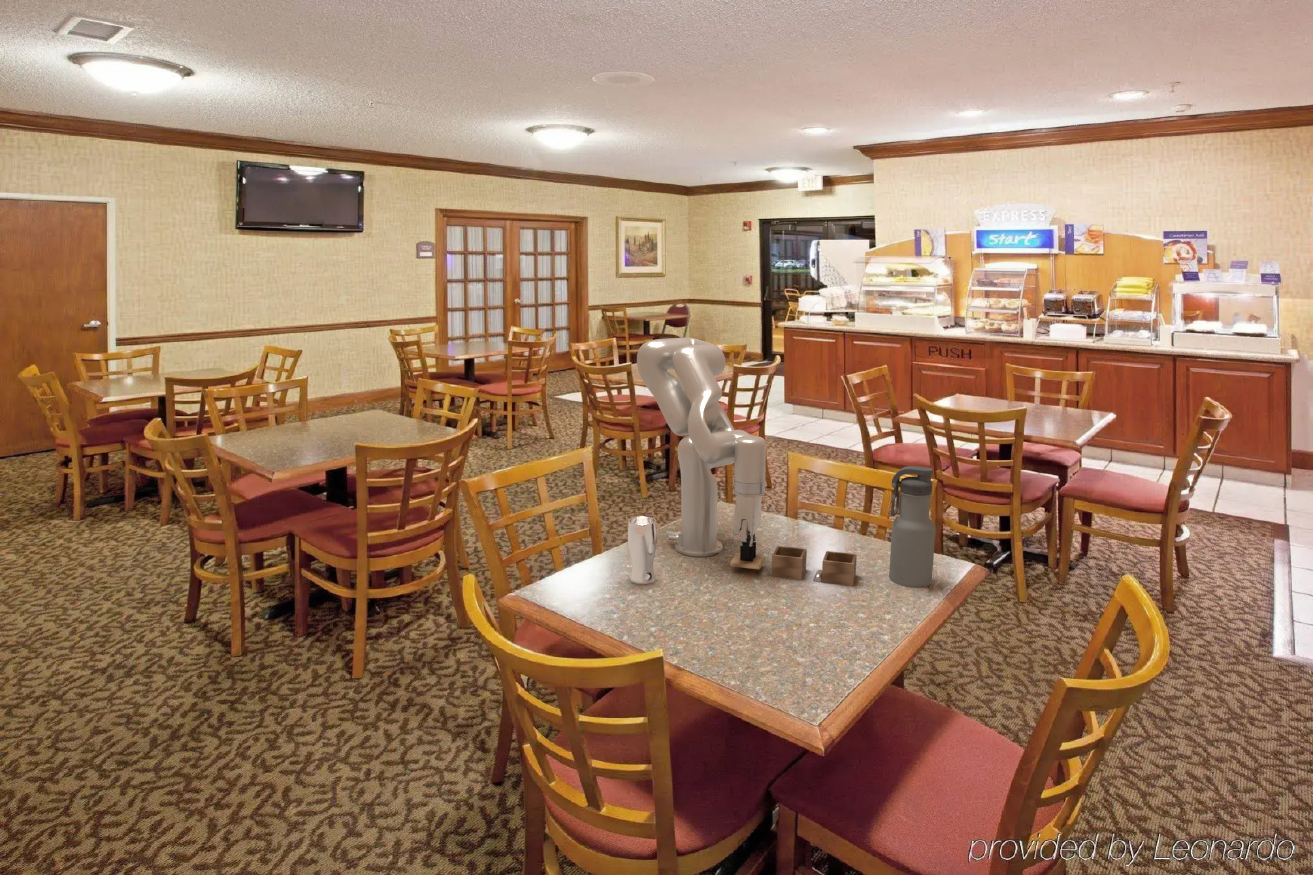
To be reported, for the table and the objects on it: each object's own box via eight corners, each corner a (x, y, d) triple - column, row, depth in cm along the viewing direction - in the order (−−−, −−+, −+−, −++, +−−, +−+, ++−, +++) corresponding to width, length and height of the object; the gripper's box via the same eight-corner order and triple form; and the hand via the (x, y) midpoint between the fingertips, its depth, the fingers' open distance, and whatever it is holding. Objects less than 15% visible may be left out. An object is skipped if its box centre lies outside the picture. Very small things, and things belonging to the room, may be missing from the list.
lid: (730, 566, 195) (730, 540, 194) (736, 556, 202) (737, 531, 200) (759, 569, 193) (759, 543, 191) (764, 559, 199) (765, 534, 198)
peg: (811, 582, 190) (819, 586, 190) (815, 575, 189) (823, 579, 189) (814, 575, 195) (822, 578, 194) (818, 568, 194) (825, 572, 194)
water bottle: (883, 584, 189) (889, 470, 183) (891, 571, 198) (898, 461, 192) (927, 592, 184) (935, 475, 179) (934, 578, 193) (942, 466, 187)
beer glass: (623, 582, 191) (622, 522, 188) (637, 572, 197) (636, 514, 194) (648, 587, 188) (648, 526, 185) (662, 577, 194) (661, 518, 191)
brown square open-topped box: (821, 584, 189) (822, 560, 188) (825, 574, 196) (826, 550, 195) (852, 588, 187) (853, 564, 186) (855, 577, 194) (856, 554, 192)
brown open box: (771, 578, 193) (772, 555, 192) (777, 568, 200) (777, 545, 199) (801, 582, 191) (802, 558, 190) (805, 571, 197) (806, 548, 196)
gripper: (741, 477, 202) (740, 546, 206) (726, 494, 187) (725, 568, 191) (771, 480, 199) (769, 550, 203) (757, 497, 185) (756, 572, 188)
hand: (748, 558), depth 197 cm, fingers closed on lid
